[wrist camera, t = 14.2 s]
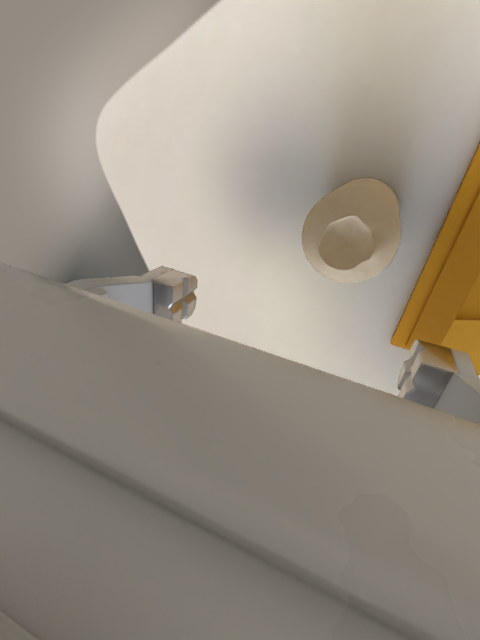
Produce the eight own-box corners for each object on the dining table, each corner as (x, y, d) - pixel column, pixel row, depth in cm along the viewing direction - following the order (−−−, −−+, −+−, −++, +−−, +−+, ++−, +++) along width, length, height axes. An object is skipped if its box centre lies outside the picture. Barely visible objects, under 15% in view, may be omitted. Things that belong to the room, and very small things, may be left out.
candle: (343, 167, 25) (318, 174, 17) (414, 192, 24) (423, 213, 16) (315, 234, 28) (282, 268, 20) (377, 259, 27) (369, 306, 19)
